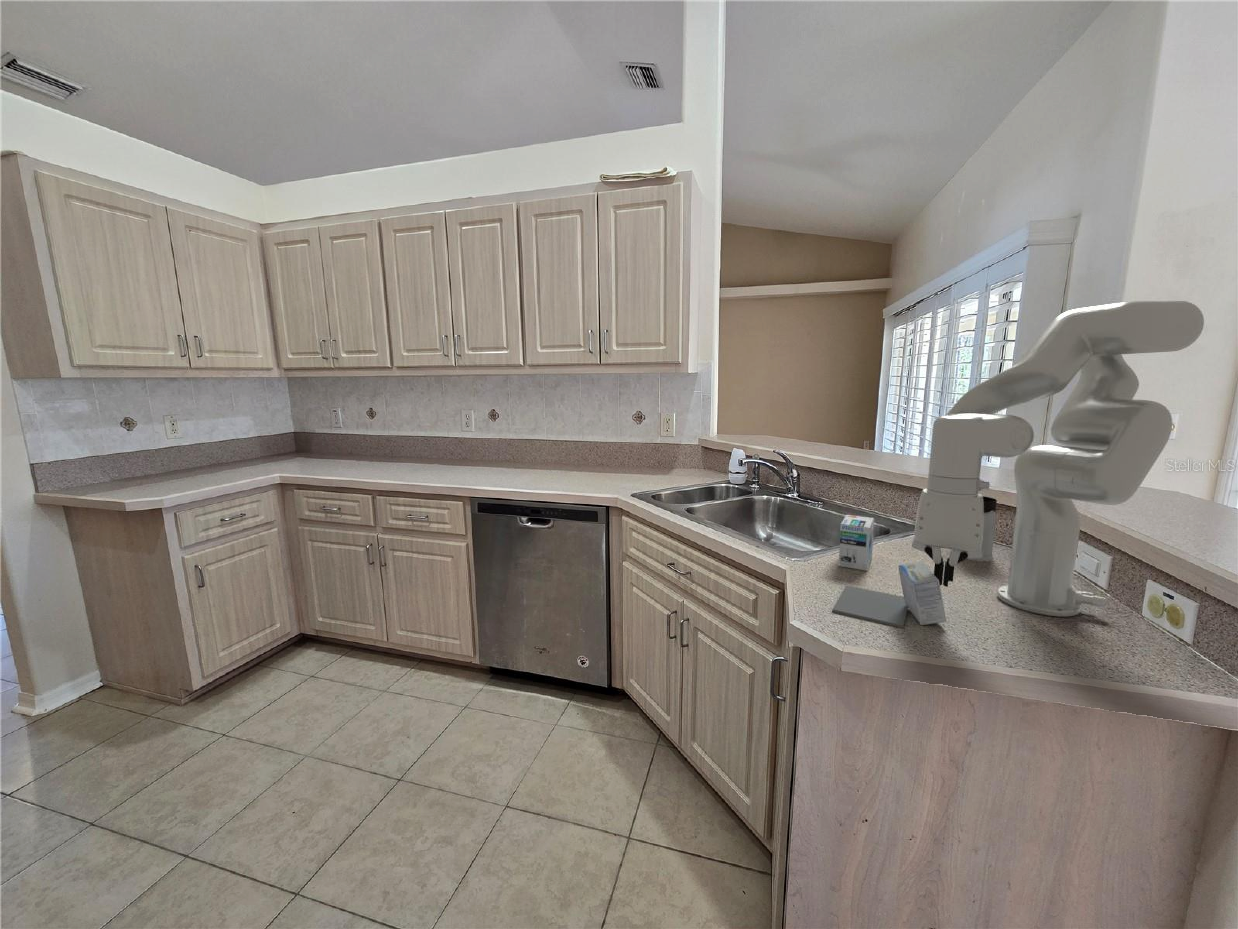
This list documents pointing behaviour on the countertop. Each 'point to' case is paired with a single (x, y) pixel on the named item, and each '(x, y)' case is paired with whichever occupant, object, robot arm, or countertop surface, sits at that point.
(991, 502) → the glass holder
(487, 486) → the countertop surface
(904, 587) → the medicine box
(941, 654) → the countertop surface
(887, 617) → the mat
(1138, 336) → the robot arm
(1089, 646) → the countertop surface
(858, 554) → the light bulb box
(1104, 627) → the countertop surface
